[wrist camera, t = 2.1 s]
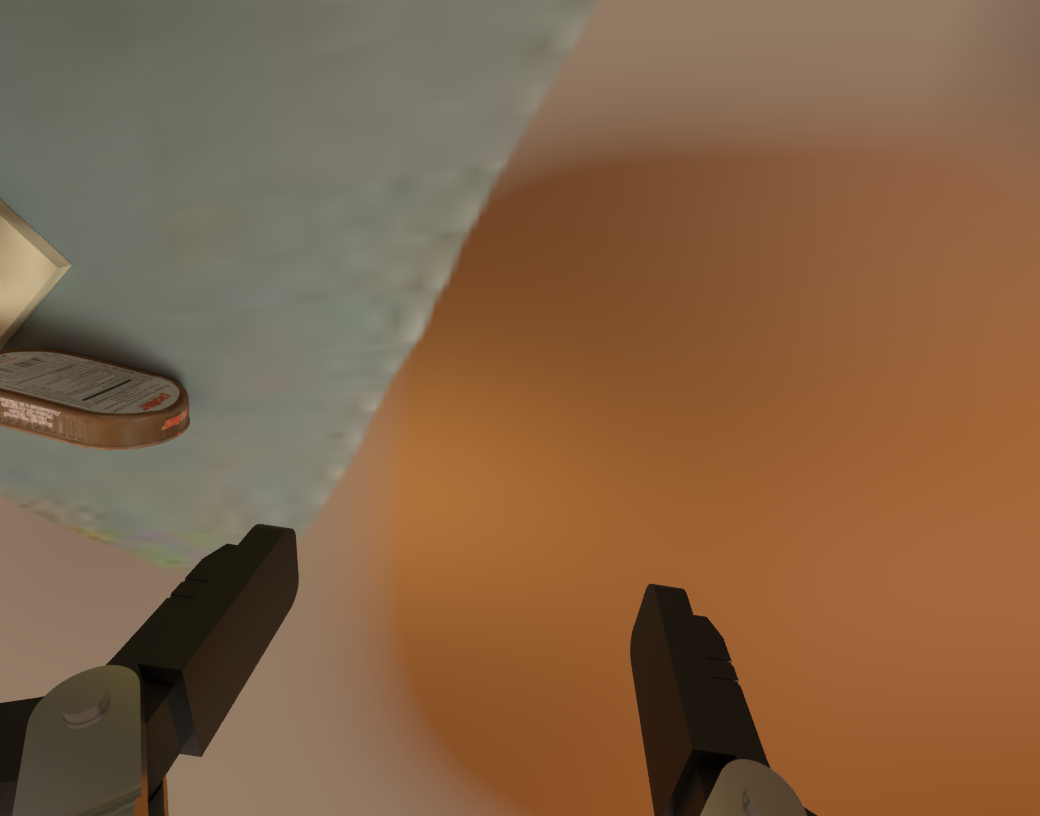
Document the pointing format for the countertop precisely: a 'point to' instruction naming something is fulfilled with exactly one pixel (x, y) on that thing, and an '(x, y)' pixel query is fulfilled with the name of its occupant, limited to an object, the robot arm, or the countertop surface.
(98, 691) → the robot arm
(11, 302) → the birch board
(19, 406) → the tin
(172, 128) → the countertop surface
